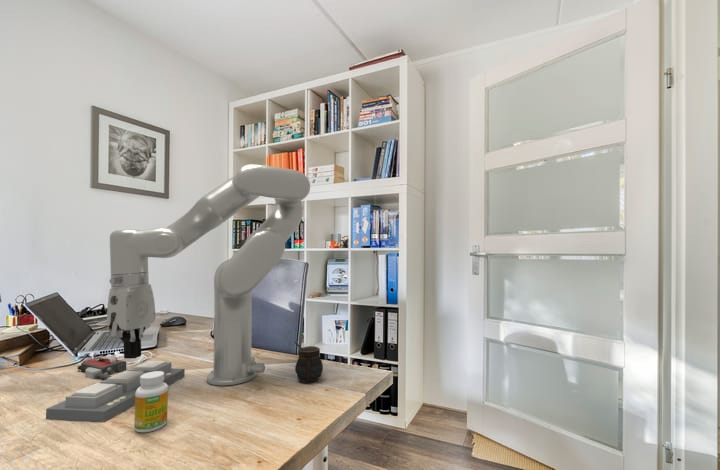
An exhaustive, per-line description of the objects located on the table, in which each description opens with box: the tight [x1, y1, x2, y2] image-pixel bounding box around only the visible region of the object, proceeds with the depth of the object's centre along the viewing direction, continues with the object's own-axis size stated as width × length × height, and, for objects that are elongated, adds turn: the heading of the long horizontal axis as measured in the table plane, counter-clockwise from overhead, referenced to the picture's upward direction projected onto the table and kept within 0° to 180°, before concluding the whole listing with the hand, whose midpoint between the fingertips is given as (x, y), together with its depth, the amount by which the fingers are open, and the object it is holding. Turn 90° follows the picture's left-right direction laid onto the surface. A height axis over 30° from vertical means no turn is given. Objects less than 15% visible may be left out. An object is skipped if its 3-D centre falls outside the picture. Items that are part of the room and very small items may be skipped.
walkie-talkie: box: [77, 355, 127, 380], centre depth 94 cm, size 9×4×20 cm
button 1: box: [133, 360, 167, 370], centre depth 87 cm, size 5×5×2 cm
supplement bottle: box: [133, 371, 169, 433], centre depth 65 cm, size 5×5×10 cm
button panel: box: [45, 361, 186, 423], centre depth 79 cm, size 13×25×4 cm, turn 173°
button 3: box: [73, 382, 116, 397], centre depth 72 cm, size 5×5×2 cm
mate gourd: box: [293, 340, 324, 384], centre depth 88 cm, size 7×8×10 cm
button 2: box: [106, 370, 144, 382], centre depth 79 cm, size 5×5×2 cm
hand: (132, 357), depth 80 cm, fingers closed
